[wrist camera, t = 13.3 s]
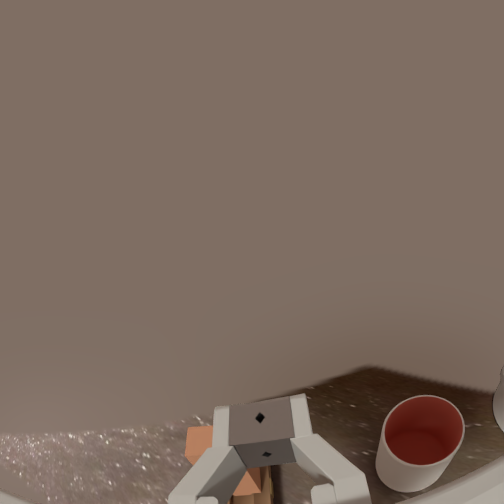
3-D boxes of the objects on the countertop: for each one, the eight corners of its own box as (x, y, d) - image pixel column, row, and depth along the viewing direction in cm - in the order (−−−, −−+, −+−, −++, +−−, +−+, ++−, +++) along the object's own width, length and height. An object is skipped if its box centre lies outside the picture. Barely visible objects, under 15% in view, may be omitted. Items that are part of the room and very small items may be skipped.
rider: (261, 472, 34) (236, 423, 28) (262, 495, 31) (236, 452, 25) (223, 475, 35) (188, 427, 29) (223, 498, 31) (184, 455, 26)
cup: (366, 446, 37) (371, 409, 32) (430, 424, 36) (445, 383, 32) (384, 505, 28) (396, 480, 23) (453, 477, 27) (478, 445, 23)
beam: (271, 444, 41) (267, 431, 39) (279, 548, 26) (274, 544, 24) (223, 450, 41) (215, 437, 40) (221, 551, 26) (211, 546, 25)
